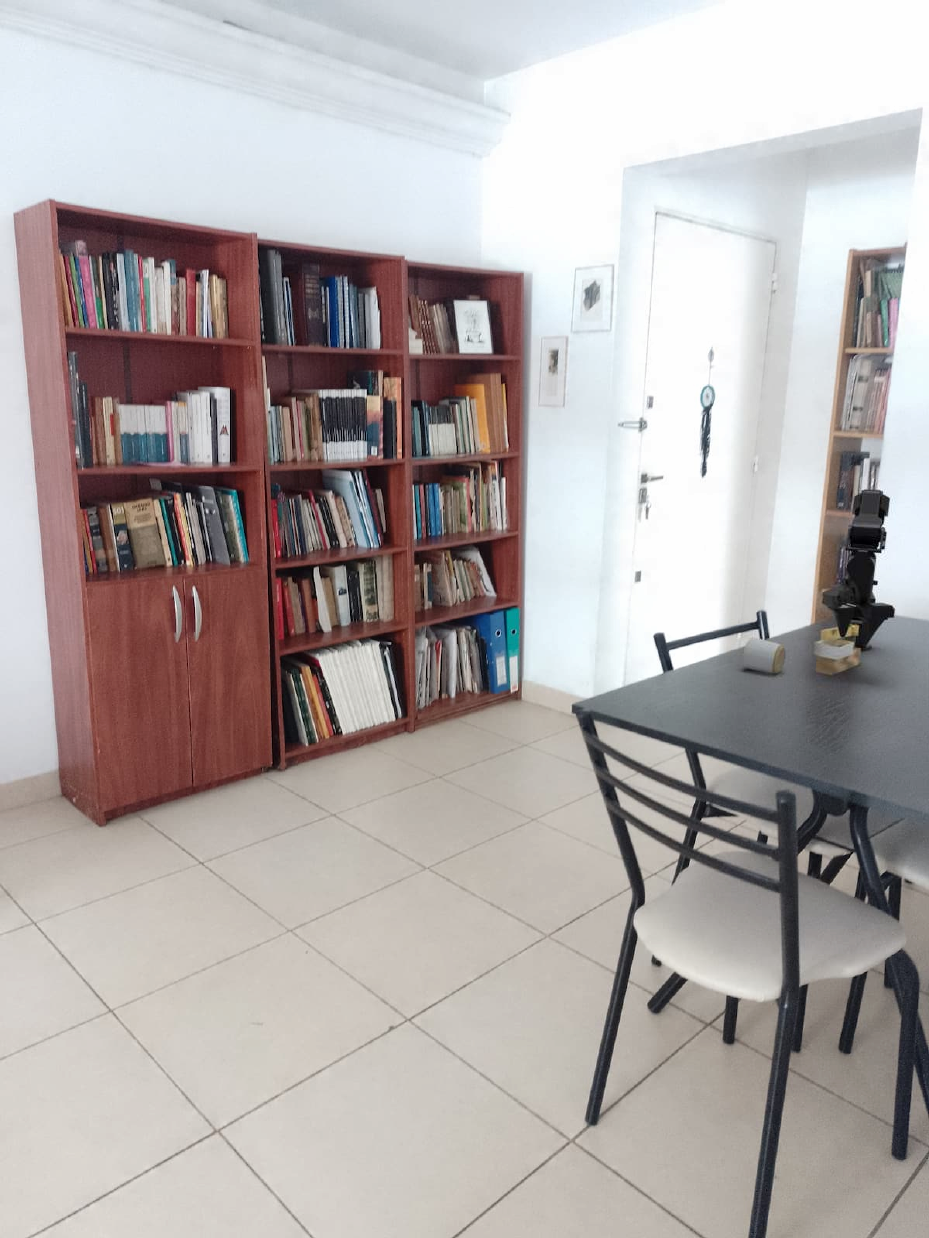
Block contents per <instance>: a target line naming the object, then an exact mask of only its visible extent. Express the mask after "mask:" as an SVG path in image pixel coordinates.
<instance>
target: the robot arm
mask: <svg viewBox="0 0 929 1238" xmlns="http://www.w3.org/2000/svg"><path fill="white" fill-rule="evenodd" d="M890 501H891V497H889V496H888V495H887V494H886V495H885V494H884V490H880V489H871V488H870V489H869V488H868V489H867V488H865V489H861V490H860V493H858V494H856V495H854V496H853V501H852V502H853V503H852V509H851V510H852V511H851V512H852V513H851V514H852V516H853V515H854V517H853V518H852V522H851V524H848V528H847V534H846V535H847V536H846V542H845V550H844V551H846V552H851V553H850V554H849V558H848V559H849V560H848V562H847V565H846V572H847V575H846V577H843V578H842V580H841V583H840V585H838V586H834V587H832V588H829V589H827V590H824V591H823V592H822V599H821V600H822V602H821V603H822V605H824V606H826V608H827V609H828V610H830V611H831V612H832V613H833V614H834V618H835V621H836V625H837V627H838V629H839V634H840V637H843V640H846V641H847V637H845V636H846V633H847V631H848V628H849V625H850V624H857V625H859V630H858V636H856V640H855V647H856V648H861V652H862V651H865V650H868V649H871V648H872V645H871V644H869V643H870V641H871V640H872V638H873V637H874V635H875V634H876V632H877V631H878V629H879V628H880V627H881V626H882V625H883V623H884V622H885V621H888V620H889V619H891V618H892V619H894V618H895V613H896V608H895V607H894V606H893V605H891V604H887V603H884V602H876V601H877V600H876V596H875V594H874V592H873V589H874V586H878V583H879V582H878V580H876V579H875V573H876V565H877V564H876V563H877V554H882V551H883V550H884V551H885V549H886V543H887V534H888V532H887V531H886V528H885V526H883V525H884V524H885V518H887V517H888V516H889V512H890V511H889V510H890V503H891V502H890ZM849 545H850V546H849Z"/></svg>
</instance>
